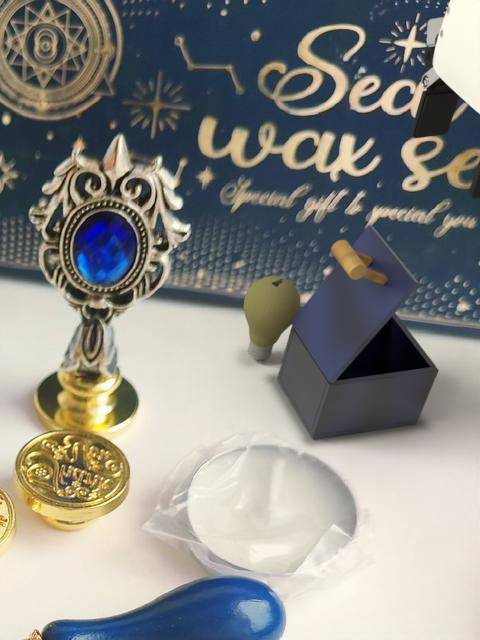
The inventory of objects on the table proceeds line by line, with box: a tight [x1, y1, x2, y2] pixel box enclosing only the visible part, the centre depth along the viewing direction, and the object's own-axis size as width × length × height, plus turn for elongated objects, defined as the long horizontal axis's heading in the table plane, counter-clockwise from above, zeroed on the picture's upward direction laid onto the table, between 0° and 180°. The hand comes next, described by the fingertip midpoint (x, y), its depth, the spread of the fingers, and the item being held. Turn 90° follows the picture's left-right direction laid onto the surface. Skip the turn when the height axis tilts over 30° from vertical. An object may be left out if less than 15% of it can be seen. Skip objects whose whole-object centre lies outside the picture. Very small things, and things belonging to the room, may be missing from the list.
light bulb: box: [243, 275, 301, 362], centre depth 112 cm, size 6×6×10 cm
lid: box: [291, 225, 421, 383], centre depth 100 cm, size 12×9×5 cm
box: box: [276, 312, 440, 440], centre depth 108 cm, size 11×9×7 cm
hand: (456, 163), depth 89 cm, fingers open, 9 cm apart
